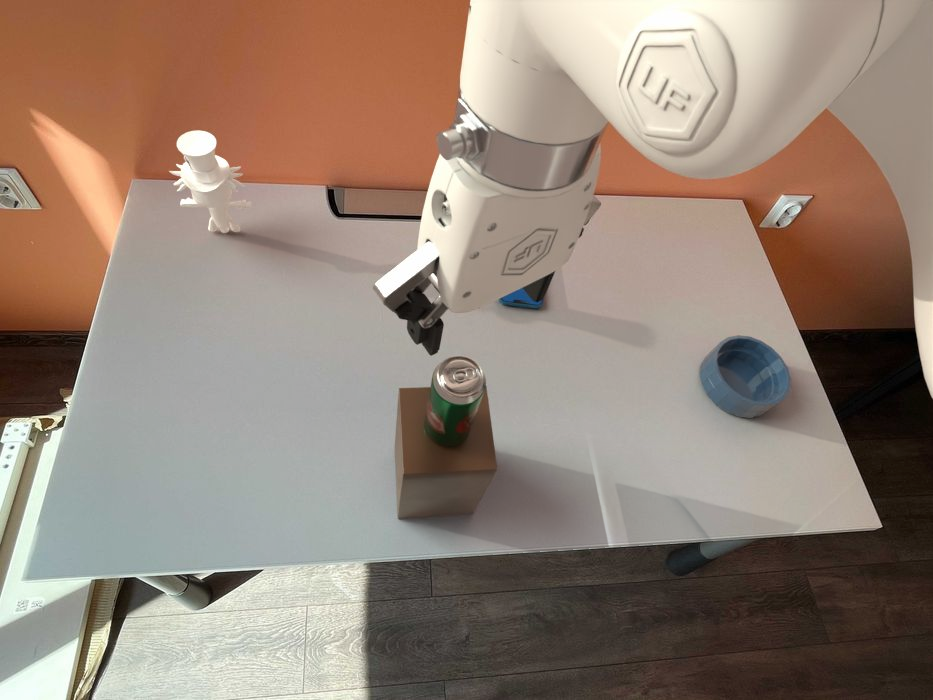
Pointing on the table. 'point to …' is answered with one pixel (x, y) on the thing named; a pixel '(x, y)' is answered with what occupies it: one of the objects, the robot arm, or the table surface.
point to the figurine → (208, 179)
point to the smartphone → (520, 300)
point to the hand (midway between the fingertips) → (477, 312)
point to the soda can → (454, 400)
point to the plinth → (440, 462)
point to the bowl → (745, 376)
